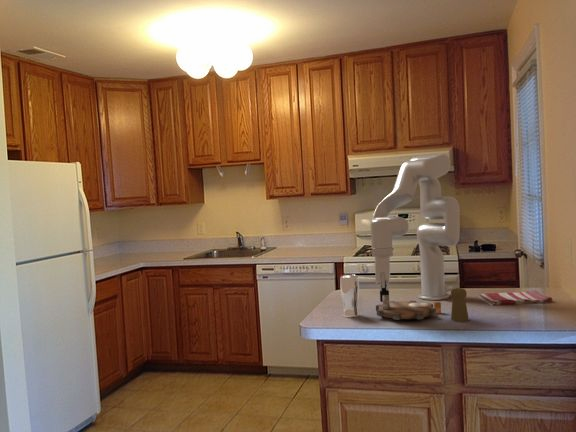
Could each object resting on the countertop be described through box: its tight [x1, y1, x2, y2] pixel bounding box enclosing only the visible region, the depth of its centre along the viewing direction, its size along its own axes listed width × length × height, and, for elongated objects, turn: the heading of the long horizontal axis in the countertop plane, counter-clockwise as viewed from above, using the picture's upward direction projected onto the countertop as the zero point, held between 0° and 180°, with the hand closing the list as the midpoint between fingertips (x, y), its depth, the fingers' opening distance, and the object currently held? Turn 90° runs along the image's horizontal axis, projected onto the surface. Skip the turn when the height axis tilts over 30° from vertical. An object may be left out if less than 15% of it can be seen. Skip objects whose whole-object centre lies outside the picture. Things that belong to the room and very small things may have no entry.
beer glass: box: [339, 274, 360, 318], centre depth 187 cm, size 7×7×15 cm
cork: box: [450, 287, 470, 323], centre depth 173 cm, size 6×6×11 cm
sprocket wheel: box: [375, 294, 437, 321], centre depth 183 cm, size 22×22×7 cm
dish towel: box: [477, 290, 554, 306], centre depth 199 cm, size 17×23×3 cm
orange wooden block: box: [399, 301, 442, 321], centre depth 184 cm, size 19×12×4 cm, turn 112°
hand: (384, 301), depth 184 cm, fingers closed
